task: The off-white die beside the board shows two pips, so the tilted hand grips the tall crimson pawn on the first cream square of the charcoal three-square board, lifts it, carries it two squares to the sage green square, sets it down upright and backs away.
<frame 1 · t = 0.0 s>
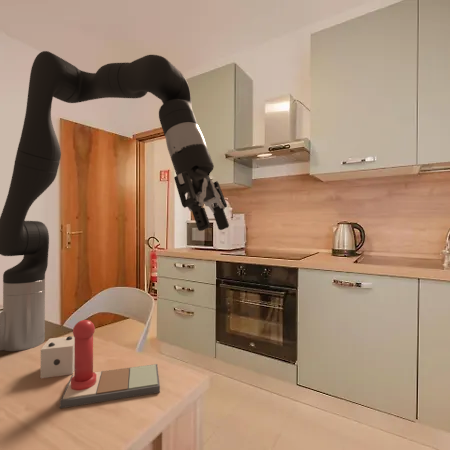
hand: (215, 229, 54), 31 cm above the table, fingers open, 8 cm apart
pawn: (83, 383, 55), point 1 cm above the table, touching board
die: (60, 369, 63), on the table
board: (114, 386, 56), on the table
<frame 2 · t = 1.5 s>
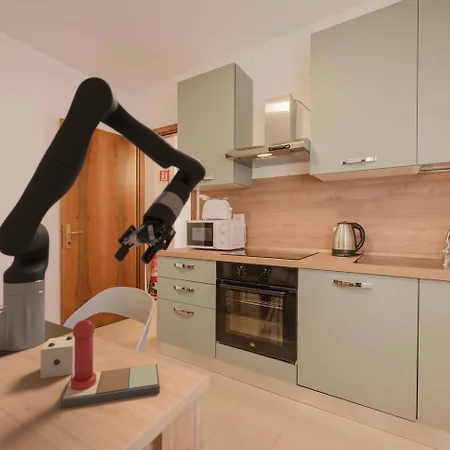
hand: (130, 260, 65), 24 cm above the table, fingers open, 8 cm apart
nothing on the table moved.
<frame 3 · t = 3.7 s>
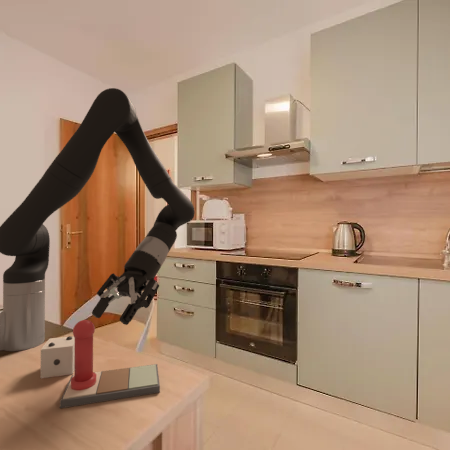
hand: (108, 319, 60), 12 cm above the table, fingers open, 8 cm apart
nothing on the table moved.
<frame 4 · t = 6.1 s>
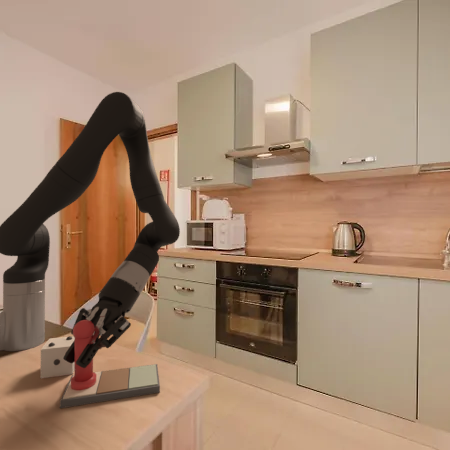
hand: (74, 363, 53), 6 cm above the table, fingers closed on pawn, 3 cm apart
pawn: (83, 383, 55), point 1 cm above the table, touching board, gripper
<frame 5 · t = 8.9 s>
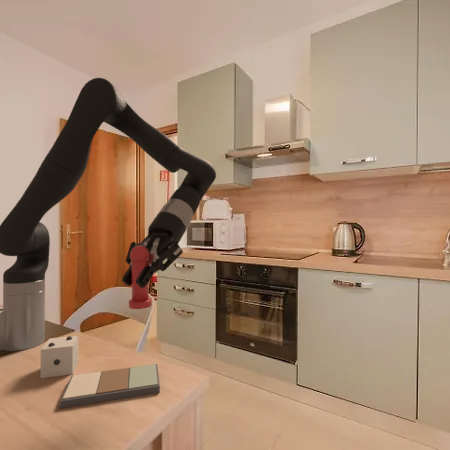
hand: (132, 284, 56), 20 cm above the table, fingers closed on pawn, 3 cm apart
pawn: (140, 305, 58), point 16 cm above the table, touching gripper
when the fingers open (8 cm above the table, at t = 11.7 s): pawn drops 1 cm, resting on board.
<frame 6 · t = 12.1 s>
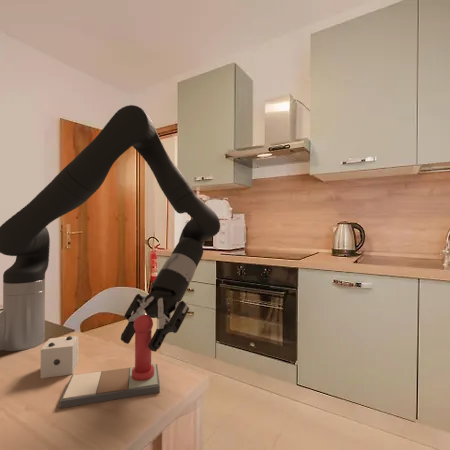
hand: (137, 345, 56), 8 cm above the table, fingers open, 7 cm apart
pawn: (143, 375, 58), point 1 cm above the table, touching board
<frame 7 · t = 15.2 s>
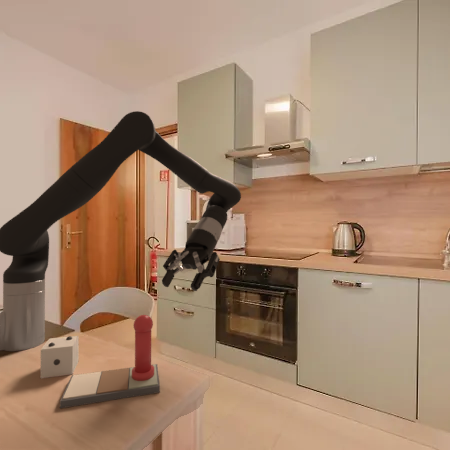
hand: (178, 287, 68), 17 cm above the table, fingers open, 8 cm apart
nothing on the table moved.
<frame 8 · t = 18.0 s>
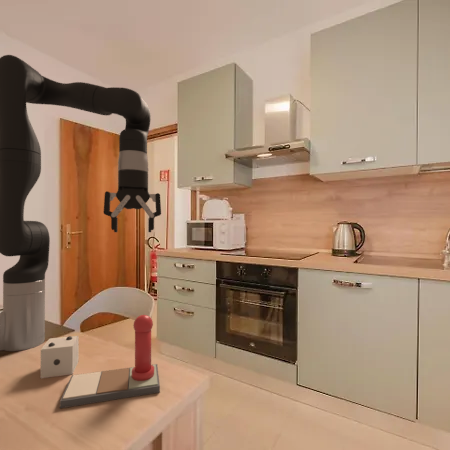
hand: (133, 232, 75), 30 cm above the table, fingers open, 8 cm apart
nothing on the table moved.
at the end: pawn 0.1 cm from the target spot on the board, point 1.4 cm above the board's base; pawn tilted 0°; the gripper is holding nothing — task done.
